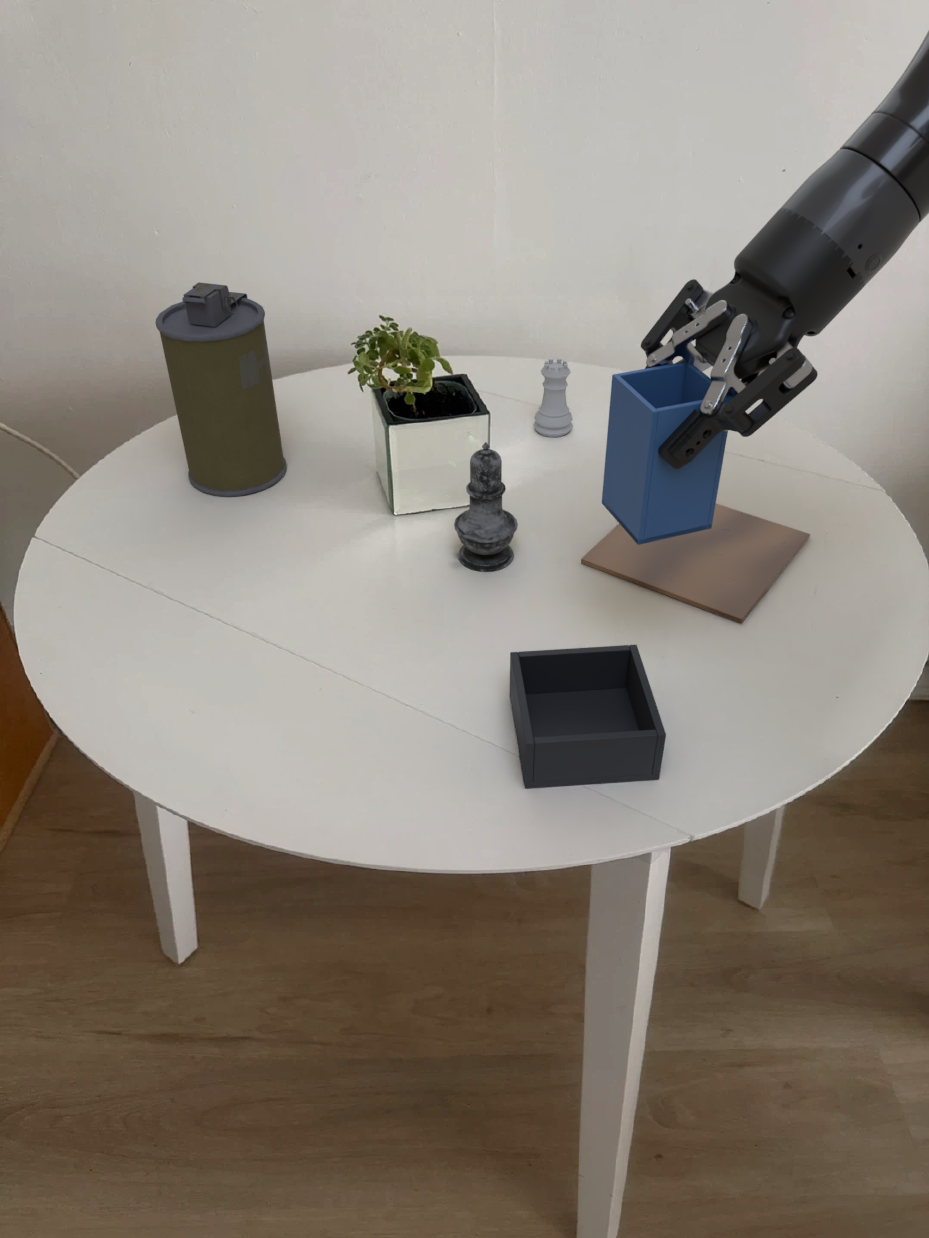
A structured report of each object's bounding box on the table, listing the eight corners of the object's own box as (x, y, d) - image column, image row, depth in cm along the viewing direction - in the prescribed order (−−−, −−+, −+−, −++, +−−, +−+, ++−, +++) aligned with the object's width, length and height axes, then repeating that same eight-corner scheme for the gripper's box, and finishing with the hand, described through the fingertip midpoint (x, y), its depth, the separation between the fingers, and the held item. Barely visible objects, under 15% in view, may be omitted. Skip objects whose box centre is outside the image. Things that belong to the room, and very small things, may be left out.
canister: (259, 503, 102) (227, 314, 90) (170, 488, 105) (127, 302, 92) (304, 453, 110) (281, 273, 98) (220, 440, 113) (187, 263, 100)
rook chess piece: (579, 425, 114) (583, 360, 109) (561, 442, 111) (564, 375, 106) (545, 416, 116) (547, 351, 111) (526, 432, 113) (528, 366, 108)
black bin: (631, 688, 80) (636, 644, 77) (659, 779, 72) (666, 734, 69) (509, 695, 79) (510, 651, 76) (524, 788, 71) (526, 743, 69)
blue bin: (671, 488, 77) (688, 360, 70) (711, 528, 73) (733, 396, 66) (601, 503, 76) (612, 374, 69) (637, 545, 71) (653, 412, 65)
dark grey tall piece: (446, 567, 93) (443, 454, 85) (465, 534, 97) (463, 423, 90) (507, 578, 91) (509, 463, 84) (523, 543, 96) (526, 431, 88)
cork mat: (809, 538, 96) (810, 533, 95) (741, 624, 86) (742, 619, 85) (659, 489, 103) (659, 485, 103) (580, 563, 93) (580, 558, 93)
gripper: (736, 177, 68) (568, 368, 72) (870, 243, 57) (663, 461, 62) (788, 246, 73) (627, 421, 77) (921, 318, 62) (725, 516, 66)
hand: (644, 438), depth 69 cm, fingers closed on blue bin, 6 cm apart
